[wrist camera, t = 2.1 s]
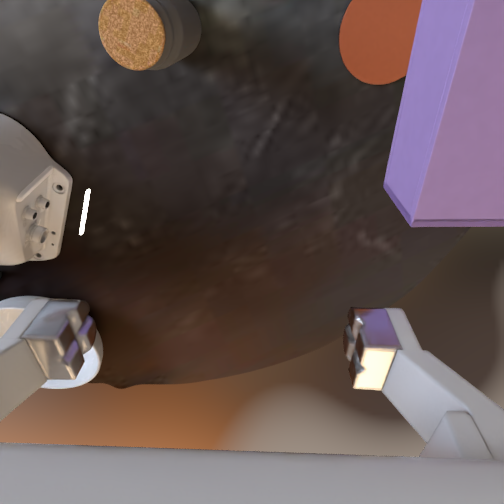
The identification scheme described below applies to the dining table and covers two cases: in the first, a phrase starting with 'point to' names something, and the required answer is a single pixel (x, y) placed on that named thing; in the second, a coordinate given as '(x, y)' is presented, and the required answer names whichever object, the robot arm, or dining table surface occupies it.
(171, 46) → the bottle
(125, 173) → the dining table surface
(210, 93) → the dining table surface
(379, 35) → the coaster
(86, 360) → the serving bowl
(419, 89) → the purple block
